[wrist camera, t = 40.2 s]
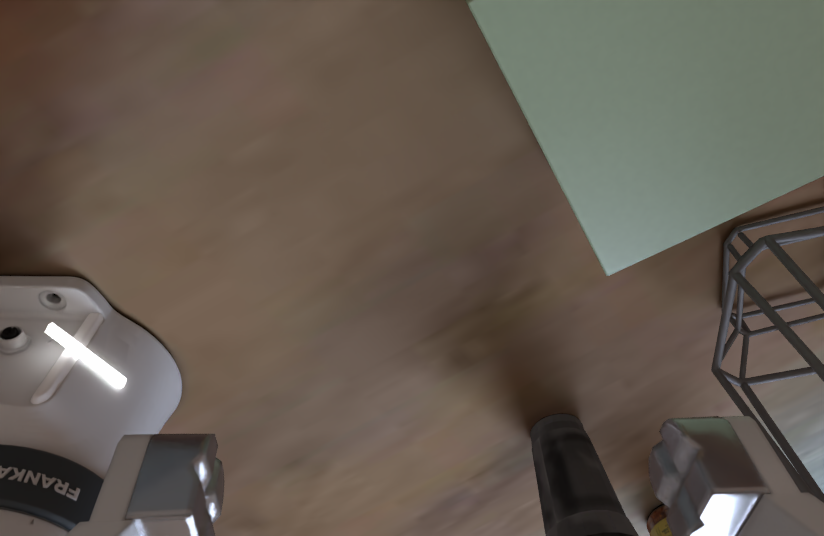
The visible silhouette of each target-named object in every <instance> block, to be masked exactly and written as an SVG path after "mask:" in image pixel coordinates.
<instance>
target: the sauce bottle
mask: <svg viewBox="0 0 824 536" xmlns="http://www.w3.org/2000/svg"><path fill="white" fill-rule="evenodd" d="M668 511H669V507H668V506H666V505H663V506H660V507H658V508H657V509H655V510H653V512H652V513H651V515H650V516H649V519H648V521H647V529H648V532H649V533H650V536H673V535H672V533H671V530H670V528H669V526H668V523H667V521H666V518H667V514H668Z"/></svg>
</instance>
